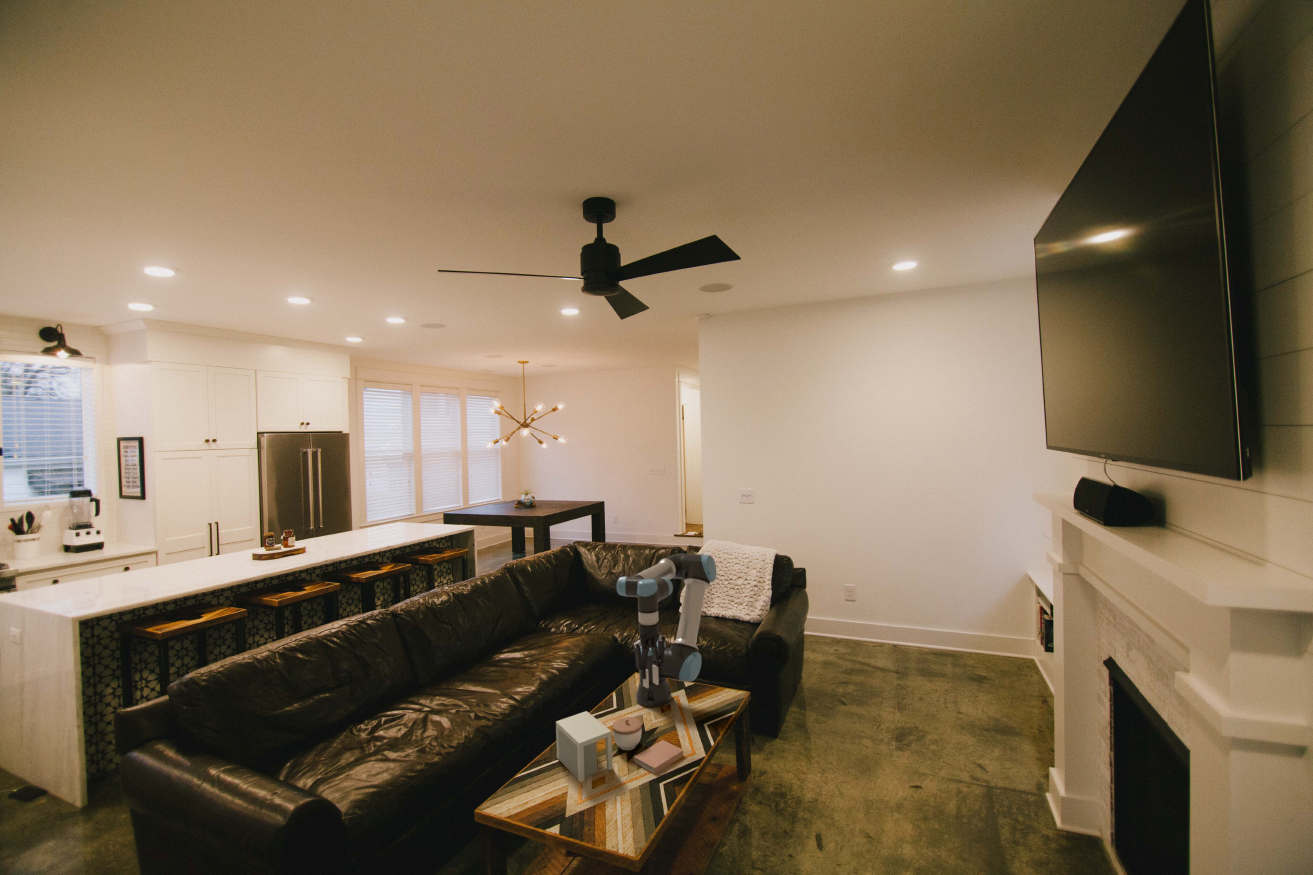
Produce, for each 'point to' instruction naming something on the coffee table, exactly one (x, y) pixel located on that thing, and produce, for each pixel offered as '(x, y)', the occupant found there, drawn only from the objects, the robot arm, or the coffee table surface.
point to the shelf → (582, 744)
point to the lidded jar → (627, 732)
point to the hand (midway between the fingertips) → (650, 684)
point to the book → (658, 756)
